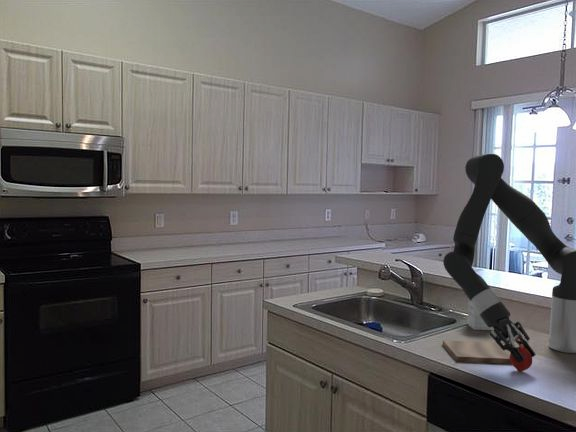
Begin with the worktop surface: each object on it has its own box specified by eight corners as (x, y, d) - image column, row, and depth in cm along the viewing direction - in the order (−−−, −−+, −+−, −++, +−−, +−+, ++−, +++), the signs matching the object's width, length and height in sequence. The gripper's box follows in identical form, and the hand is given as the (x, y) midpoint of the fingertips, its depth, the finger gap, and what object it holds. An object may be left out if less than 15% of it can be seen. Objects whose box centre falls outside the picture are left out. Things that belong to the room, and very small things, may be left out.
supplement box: (486, 324, 183) (488, 292, 182) (493, 330, 175) (495, 296, 174) (466, 324, 183) (468, 291, 182) (473, 329, 176) (475, 296, 175)
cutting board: (504, 347, 157) (504, 342, 157) (524, 364, 142) (525, 359, 142) (442, 344, 158) (442, 340, 158) (456, 361, 143) (457, 356, 143)
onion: (512, 366, 140) (513, 339, 140) (533, 371, 137) (535, 344, 136) (506, 371, 136) (508, 344, 135) (528, 377, 132) (530, 349, 132)
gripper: (486, 304, 137) (525, 357, 128) (511, 298, 145) (549, 347, 137) (468, 318, 141) (504, 370, 133) (493, 311, 150) (529, 360, 141)
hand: (527, 358), depth 135 cm, fingers closed on onion, 5 cm apart
